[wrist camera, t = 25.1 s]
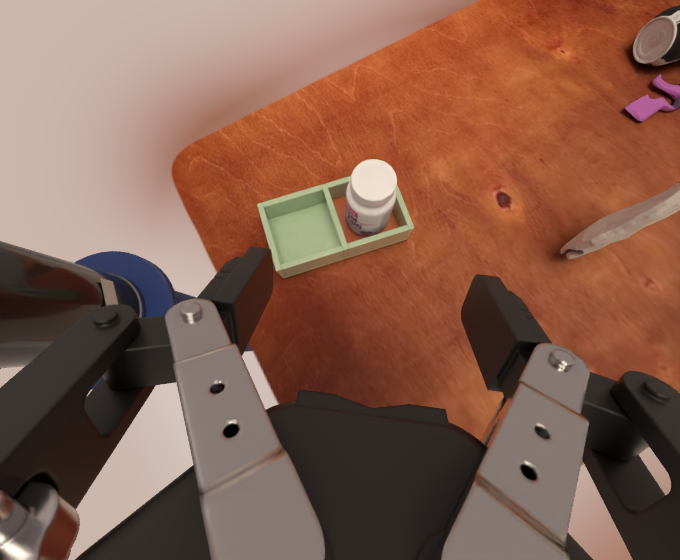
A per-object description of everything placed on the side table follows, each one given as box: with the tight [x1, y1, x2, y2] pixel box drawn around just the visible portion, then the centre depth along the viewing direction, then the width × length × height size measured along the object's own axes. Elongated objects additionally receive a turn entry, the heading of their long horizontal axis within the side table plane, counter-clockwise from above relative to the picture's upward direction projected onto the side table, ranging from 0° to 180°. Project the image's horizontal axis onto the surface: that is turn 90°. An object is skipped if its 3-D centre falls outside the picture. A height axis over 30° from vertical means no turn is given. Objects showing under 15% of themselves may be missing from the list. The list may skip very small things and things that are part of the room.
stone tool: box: [560, 182, 680, 259], centre depth 26 cm, size 9×3×15 cm, turn 127°
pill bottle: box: [346, 159, 397, 237], centre depth 30 cm, size 5×5×8 cm
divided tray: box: [257, 176, 414, 279], centre depth 33 cm, size 15×8×4 cm, turn 108°
